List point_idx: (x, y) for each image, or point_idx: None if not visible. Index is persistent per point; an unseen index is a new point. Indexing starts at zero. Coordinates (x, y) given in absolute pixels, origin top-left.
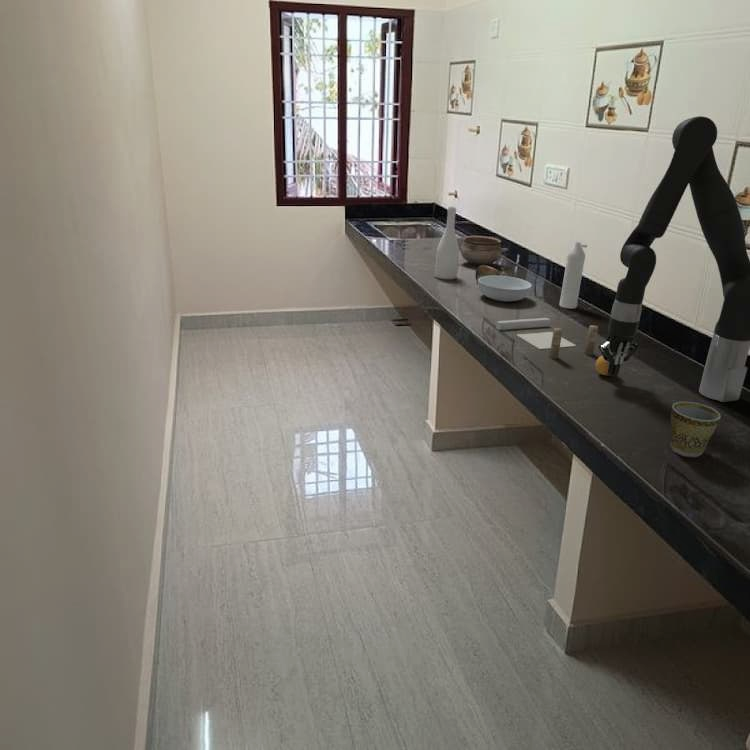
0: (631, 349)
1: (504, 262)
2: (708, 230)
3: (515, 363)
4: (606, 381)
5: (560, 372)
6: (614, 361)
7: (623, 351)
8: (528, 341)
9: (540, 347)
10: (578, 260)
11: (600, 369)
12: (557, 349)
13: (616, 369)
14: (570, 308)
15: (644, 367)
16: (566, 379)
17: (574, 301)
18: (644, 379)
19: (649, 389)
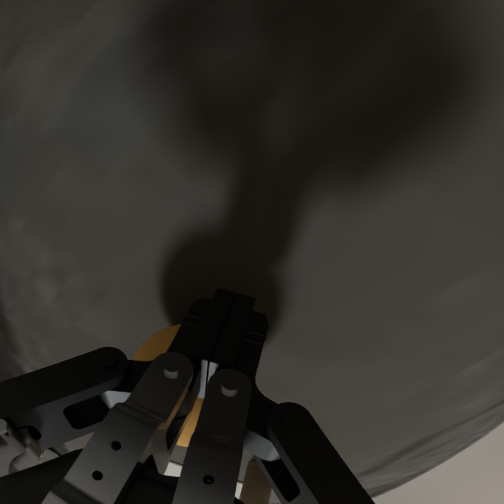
0: (25, 418)
1: None
2: None
3: (407, 475)
4: (281, 295)
5: (374, 426)
6: (248, 405)
7: (133, 470)
8: (237, 496)
9: (240, 486)
10: None
11: (255, 380)
12: (259, 490)
13: (226, 330)
14: (56, 454)
15: (7, 278)
16: (432, 388)
17: (47, 460)
18: (54, 201)
19: (118, 77)
